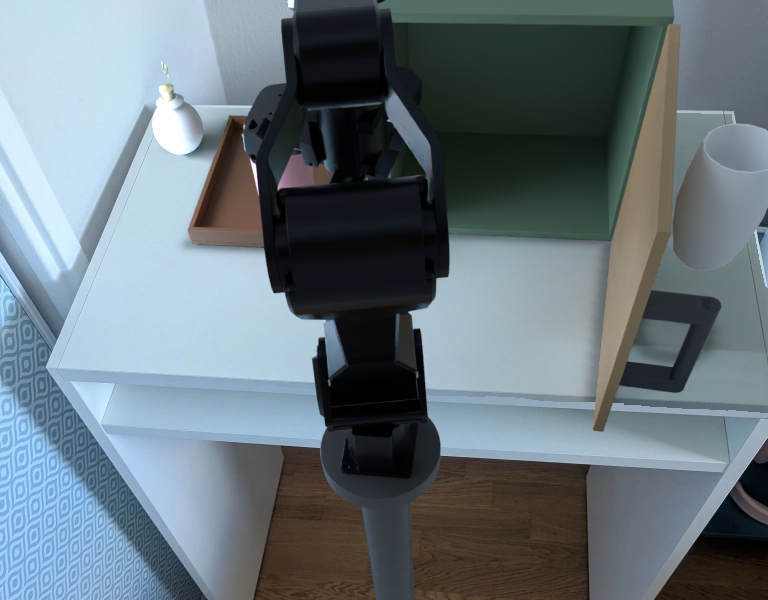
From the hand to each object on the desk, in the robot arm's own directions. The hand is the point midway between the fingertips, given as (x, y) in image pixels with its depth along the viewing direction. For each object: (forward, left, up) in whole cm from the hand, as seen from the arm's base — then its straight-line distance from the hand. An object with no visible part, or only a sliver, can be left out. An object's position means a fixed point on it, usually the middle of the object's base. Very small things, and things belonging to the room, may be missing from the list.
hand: (360, 227), depth 70 cm
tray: (+20, +13, -12) cm, 27 cm away
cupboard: (+22, -13, -12) cm, 28 cm away
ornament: (+27, +27, -12) cm, 40 cm away
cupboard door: (0, -28, -12) cm, 30 cm away
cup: (0, -31, -12) cm, 33 cm away
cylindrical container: (+14, +11, -11) cm, 21 cm away
